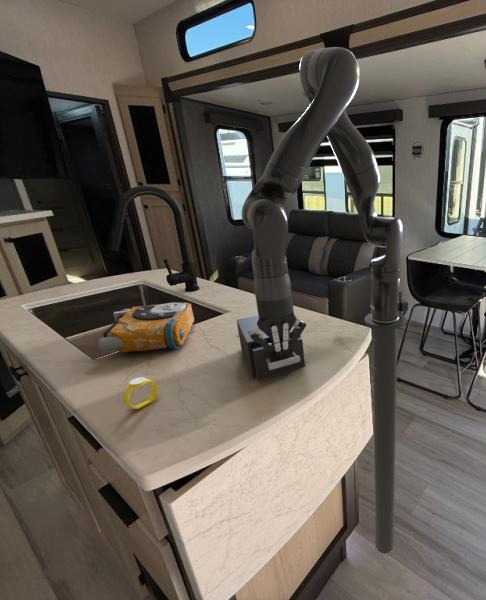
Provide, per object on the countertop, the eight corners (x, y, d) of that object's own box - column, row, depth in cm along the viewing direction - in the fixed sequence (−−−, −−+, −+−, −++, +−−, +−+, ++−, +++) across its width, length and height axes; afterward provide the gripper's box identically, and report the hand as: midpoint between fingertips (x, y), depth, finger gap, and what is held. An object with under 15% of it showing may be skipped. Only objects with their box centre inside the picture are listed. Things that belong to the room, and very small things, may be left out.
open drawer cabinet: (311, 374, 77) (308, 346, 74) (262, 390, 71) (257, 359, 68) (288, 343, 92) (285, 318, 89) (246, 354, 86) (242, 328, 83)
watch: (133, 415, 65) (125, 390, 62) (124, 411, 66) (116, 387, 63) (162, 398, 70) (155, 374, 68) (154, 395, 71) (147, 372, 69)
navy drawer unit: (303, 363, 83) (300, 330, 80) (252, 377, 77) (247, 342, 74) (286, 339, 96) (282, 310, 92) (241, 350, 89) (236, 319, 86)
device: (72, 338, 78) (121, 299, 105) (83, 367, 81) (128, 322, 108) (177, 326, 85) (198, 292, 112) (183, 353, 88) (202, 313, 115)
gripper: (244, 304, 63) (256, 379, 69) (308, 293, 70) (314, 361, 76) (238, 294, 69) (249, 363, 75) (297, 284, 76) (304, 348, 82)
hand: (282, 362), depth 75 cm, fingers closed
